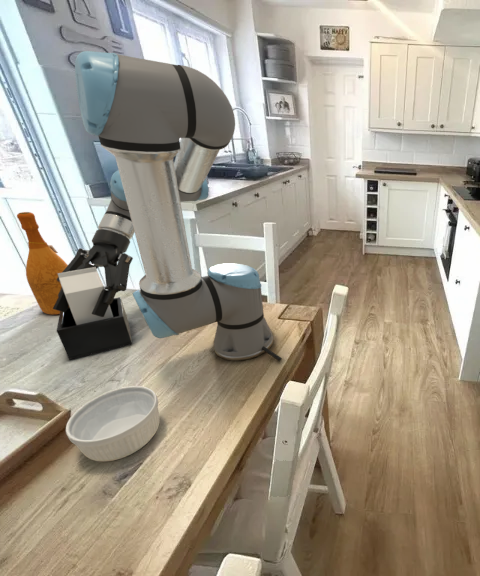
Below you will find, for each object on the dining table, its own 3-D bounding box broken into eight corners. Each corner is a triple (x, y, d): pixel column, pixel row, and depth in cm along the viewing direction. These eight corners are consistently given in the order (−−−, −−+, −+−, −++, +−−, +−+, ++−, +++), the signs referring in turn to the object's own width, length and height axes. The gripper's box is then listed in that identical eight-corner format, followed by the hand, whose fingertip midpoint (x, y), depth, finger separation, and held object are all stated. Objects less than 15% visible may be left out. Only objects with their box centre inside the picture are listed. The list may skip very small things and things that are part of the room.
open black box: (132, 344, 87) (123, 316, 84) (69, 360, 80) (56, 330, 76) (129, 323, 96) (120, 297, 92) (72, 336, 89) (60, 308, 85)
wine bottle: (90, 307, 102) (55, 212, 89) (48, 319, 95) (3, 218, 82) (77, 297, 107) (42, 206, 94) (36, 309, 99) (-8, 211, 86)
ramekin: (66, 479, 54) (50, 452, 51) (92, 420, 65) (80, 394, 62) (159, 454, 59) (149, 428, 56) (169, 403, 70) (162, 379, 67)
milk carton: (119, 335, 88) (99, 271, 80) (85, 345, 83) (59, 278, 75) (112, 325, 92) (92, 262, 84) (79, 334, 87) (55, 269, 79)
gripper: (162, 245, 91) (131, 321, 84) (89, 237, 93) (52, 311, 85) (142, 232, 84) (106, 314, 76) (63, 223, 86) (21, 303, 78)
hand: (78, 313), depth 81 cm, fingers closed on milk carton, 10 cm apart
